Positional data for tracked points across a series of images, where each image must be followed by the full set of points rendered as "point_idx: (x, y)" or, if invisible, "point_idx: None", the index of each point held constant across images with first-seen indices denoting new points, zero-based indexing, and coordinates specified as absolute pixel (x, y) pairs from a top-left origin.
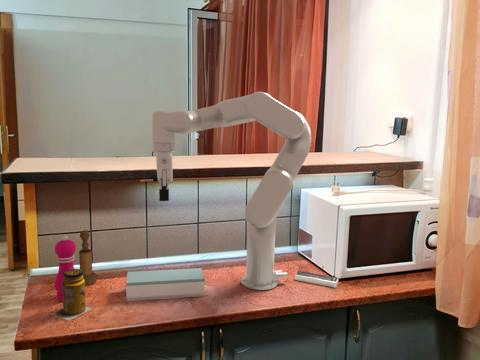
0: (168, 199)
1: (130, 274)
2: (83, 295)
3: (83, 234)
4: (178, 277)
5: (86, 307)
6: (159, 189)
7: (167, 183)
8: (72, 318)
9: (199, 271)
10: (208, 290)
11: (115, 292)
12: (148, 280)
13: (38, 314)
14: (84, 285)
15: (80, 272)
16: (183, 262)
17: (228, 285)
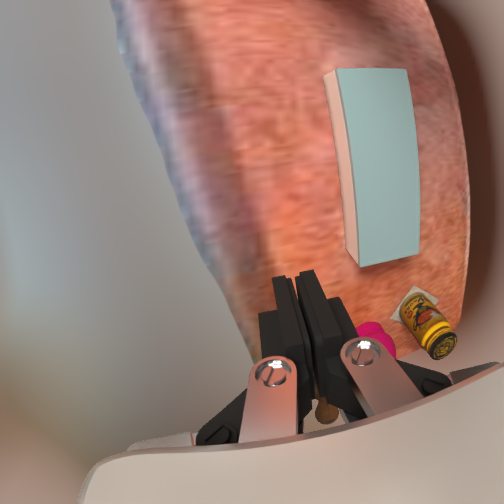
0: (315, 275)
1: (376, 257)
2: (433, 308)
3: (338, 414)
4: (402, 134)
5: (408, 294)
6: (329, 403)
7: (418, 398)
8: (434, 299)
9: (363, 76)
10: (354, 62)
11: (359, 268)
12: (414, 208)
13: (410, 342)
14: (437, 317)
15: (451, 337)
16: (160, 142)
17: (321, 15)
